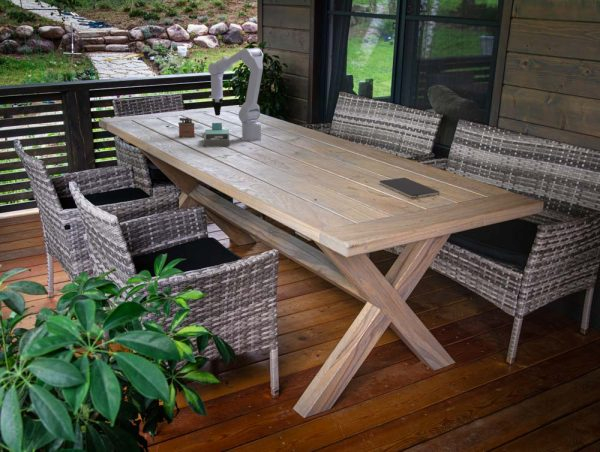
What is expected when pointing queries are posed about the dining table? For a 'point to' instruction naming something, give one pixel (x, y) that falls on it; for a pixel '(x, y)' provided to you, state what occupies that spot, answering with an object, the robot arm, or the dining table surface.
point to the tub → (221, 142)
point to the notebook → (408, 187)
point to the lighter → (186, 128)
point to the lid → (217, 129)
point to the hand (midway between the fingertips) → (217, 114)
